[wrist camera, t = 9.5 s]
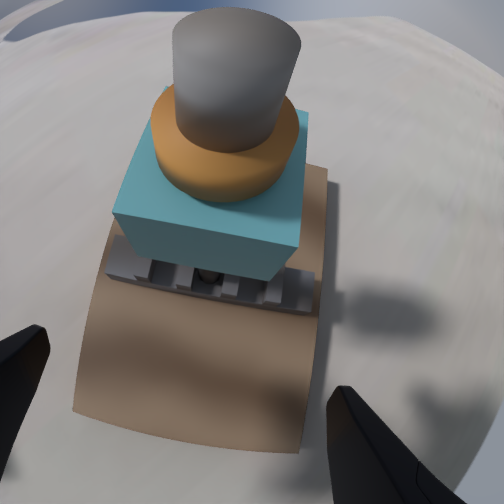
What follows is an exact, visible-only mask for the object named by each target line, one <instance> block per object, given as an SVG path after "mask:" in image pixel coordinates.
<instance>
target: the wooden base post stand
mask: <svg viewBox="0 0 504 504" xmlns="http://www.w3.org/2000/svg"><path fill="white" fill-rule="evenodd" d="M172 44H173V78H174V84H173V85H171V86H170V87H168V88H167V89H166V90H165V91H164V92H163V93H162V94H161V95H160V97H159V98H158V99H157V101H156V103H155V105H154V107H153V110H152V113H151V130H152V136H153V142H154V148H155V153H156V159H157V163H158V165H159V168H160V170H161V171H162V173H163V175H164V176H165V177H166V178H167V180H168V181H169V182H170V183H171V184H172V185H174V186H175V187H176V188H178V189H179V190H180V191H182V192H184V193H186V194H188V195H190V196H192V197H195V198H198V199H201V200H205V201H211V202H237V201H242V200H246V199H249V198H252V197H255V196H257V195H259V194H261V193H263V192H264V191H266V190H267V189H269V188H270V187H271V186H272V185H273V184H275V183H276V181H277V180H278V179H279V178H280V176H281V175H282V173H283V171H284V169H285V167H286V164H287V162H288V160H289V157H290V155H291V153H292V151H293V148H294V146H295V144H296V141H297V138H298V135H299V119H298V115H297V112H296V110H295V108H294V106H293V104H292V103H291V101H290V100H289V99H288V98H287V97H286V95H285V94H286V91H287V88H288V85H289V82H290V79H291V76H292V73H293V70H294V67H295V64H296V61H297V58H298V55H299V52H300V49H301V40H300V37H299V35H298V34H297V32H296V31H295V30H294V29H293V28H292V27H291V26H290V25H288V24H287V23H285V22H284V21H282V20H280V19H278V18H276V17H274V16H272V15H269V14H266V13H263V12H260V11H256V10H251V9H245V8H235V7H221V8H211V9H206V10H202V11H198V12H195V13H192V14H190V15H188V16H186V17H185V18H183V19H182V20H180V21H179V22H178V23H177V24H176V25H175V27H174V29H173V32H172ZM327 172H328V169H326V168H322V167H318V166H314V165H310V164H306V163H305V177H304V190H303V203H302V215H301V226H300V237H299V247H298V249H297V250H296V251H295V252H294V253H293V254H292V256H291V257H290V258H289V259H288V260H287V262H286V263H285V264H284V265H283V266H282V267H281V268H280V270H279V271H278V272H277V273H276V274H275V275H274V277H273V278H272V279H271V280H270V281H264V280H259V279H253V278H248V277H242V276H237V275H231V274H226V273H221V272H215V271H210V270H205V269H200V268H195V267H189V266H184V265H179V264H174V263H169V262H164V261H159V260H154V259H149V258H144V257H140V256H137V254H136V252H135V251H134V249H133V247H132V246H131V244H130V242H129V241H128V239H127V237H126V236H125V234H124V232H123V231H122V229H121V227H120V226H119V224H118V222H117V220H116V219H115V218H114V221H113V224H112V227H111V230H110V233H109V236H108V240H107V243H106V246H105V250H104V253H103V256H102V260H101V264H100V267H99V271H98V275H97V278H96V282H95V286H94V290H93V294H92V299H91V303H90V307H89V312H88V316H87V321H86V326H85V331H84V336H83V341H82V347H81V353H80V359H79V365H78V372H77V379H76V386H75V394H74V403H73V412H76V413H79V414H81V415H84V416H87V417H90V418H93V419H96V420H99V421H102V422H105V423H109V424H112V425H115V426H119V427H122V428H126V429H130V430H133V431H137V432H141V433H145V434H149V435H153V436H158V437H162V438H167V439H172V440H177V441H182V442H187V443H193V444H199V445H205V446H212V447H219V448H227V449H236V450H246V451H257V452H272V453H298V454H299V449H300V443H301V438H302V432H303V426H304V420H305V414H306V408H307V402H308V395H309V388H310V381H311V374H312V367H313V359H314V351H315V343H316V334H317V325H318V316H319V306H320V295H321V284H322V271H323V258H324V243H325V225H326V204H327Z"/></svg>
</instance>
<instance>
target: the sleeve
mask: <svg viewBox="0 0 504 504" xmlns="http://www.w3.org/2000/svg"><path fill="white" fill-rule="evenodd" d="M167 88H168V87H167V86H166V87H165V89H164V91H165V90H166V89H167ZM164 91H163V92H164ZM295 110H296V112H297V115H298V119H299V135H298V138H297V141H296V144H295V146H294V148H293V151H292V153H291V155H290V157H289V160H288V162H287V164H286V167H285V169H284V171H283V173H282V175H281V176H280V178H279V179H278V180H277V181H276V183H275V184H273V185H272V186H271V187H270V188H269V189H267V190H266V191H264V192H263V193H261V194H259V195H257V196H255V197H252V198H249V199H246V200H242V201H237V202H211V201H205V200H201V199H198V198H195V197H192V196H190V195H188V194H186V193H184V192H182V191H180V190H179V189H178V188H176V187H175V186H174V185H172V184H171V183H170V182H169V181H168V180H167V178H166V177H165V176H164V175H163V173H162V171H161V170H160V168H159V165H158V163H157V159H156V153H155V148H154V142H153V136H152V130H151V117H150V119H149V121H148V123H147V126H146V128H145V130H144V132H143V134H142V137H141V139H140V141H139V143H138V146H137V148H136V150H135V153H134V155H133V158H132V160H131V162H130V165H129V167H128V170H127V172H126V175H125V177H124V180H123V183H122V185H121V188H120V191H119V193H118V196H117V199H116V202H115V204H114V207H113V210H112V213H113V215H114V217H115V219H116V220H117V222H118V224H119V226H120V227H121V229H122V231H123V232H124V234H125V236H126V237H127V239H128V241H129V242H130V244H131V246H132V247H133V249H134V251H135V252H136V254H137V256H140V257H144V258H149V259H154V260H159V261H164V262H169V263H174V264H179V265H184V266H189V267H195V268H200V269H205V270H210V271H215V272H221V273H226V274H231V275H237V276H242V277H248V278H253V279H259V280H264V281H270V280H271V279H272V278H273V277H274V275H275V274H276V273H277V272H278V271H279V270H280V268H281V267H282V266H283V265H284V264H285V263H286V262H287V260H288V259H289V258H290V257H291V256H292V254H293V253H294V252H295V251H296V250H297V249H298V247H299V237H300V226H301V215H302V203H303V190H304V177H305V163H306V148H307V131H308V112H305V111H301V110H297V109H295Z"/></svg>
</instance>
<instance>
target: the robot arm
mask: <svg viewBox="0 0 504 504" xmlns="http://www.w3.org/2000/svg"><path fill="white" fill-rule="evenodd" d="M49 354H50V343H49V340H48V336H47V331H46V329H45V328H44V327H41V326H39V325H36V324H34V325H31V326H29V327H27V328H25V329H23V330H21V331H19V332H17V333H15V334H13V335H11V336H9V337H7V338H5V339H3V340H1V341H0V481H1V478H2V475H3V472H4V469H5V466H6V463H7V460H8V458H9V455H10V452H11V449H12V447H13V444H14V442H15V439H16V437H17V434H18V432H19V429H20V427H21V424H22V422H23V420H24V417H25V415H26V413H27V410H28V408H29V406H30V404H31V401H32V399H33V397H34V395H35V392H36V390H37V387H38V384H39V382H40V379H41V376H42V373H43V370H44V368H45V365H46V362H47V360H48V357H49ZM326 416H327V452H328V460H329V468H330V476H331V484H332V493H333V501H334V504H466V503H465V502H464V501H463V500H461V499H460V498H459V497H458V496H457V495H455V494H454V493H453V492H452V491H451V490H450V489H448V488H447V487H446V486H445V485H444V484H443V483H441V482H440V481H439V480H438V479H437V478H436V477H435V476H434V475H433V474H432V473H431V472H430V471H429V470H428V469H427V468H426V467H425V466H424V465H423V464H422V463H421V462H420V461H418V459H417V457H416V456H415V455H414V454H413V453H412V452H411V451H410V450H409V449H408V448H407V447H406V446H405V445H404V444H403V442H402V441H401V440H400V439H399V438H398V437H397V436H396V435H395V434H394V433H393V432H392V431H391V429H390V428H389V427H388V426H387V425H386V424H385V423H384V422H383V421H382V420H381V419H380V418H379V416H378V415H377V414H376V413H375V412H374V411H373V410H372V409H371V408H370V407H369V406H368V404H367V403H366V402H365V401H364V400H363V399H362V398H361V397H360V396H359V395H358V393H357V392H356V391H355V390H354V389H353V388H352V387H351V386H341V385H340V386H337V387H336V389H335V390H334V392H333V394H332V395H331V397H330V399H329V400H328V402H327V406H326Z"/></svg>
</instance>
